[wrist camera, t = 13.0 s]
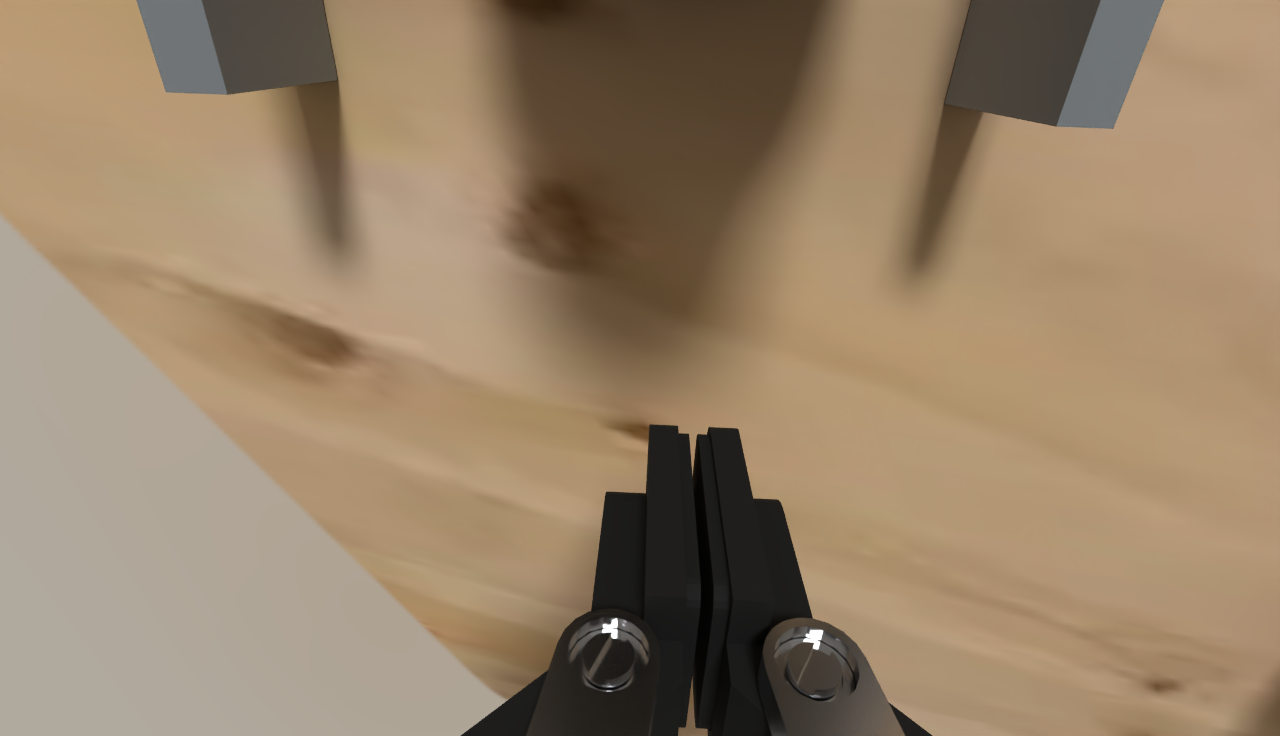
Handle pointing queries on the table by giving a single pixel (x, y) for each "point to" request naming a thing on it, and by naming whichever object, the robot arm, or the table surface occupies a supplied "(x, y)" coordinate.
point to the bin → (981, 80)
